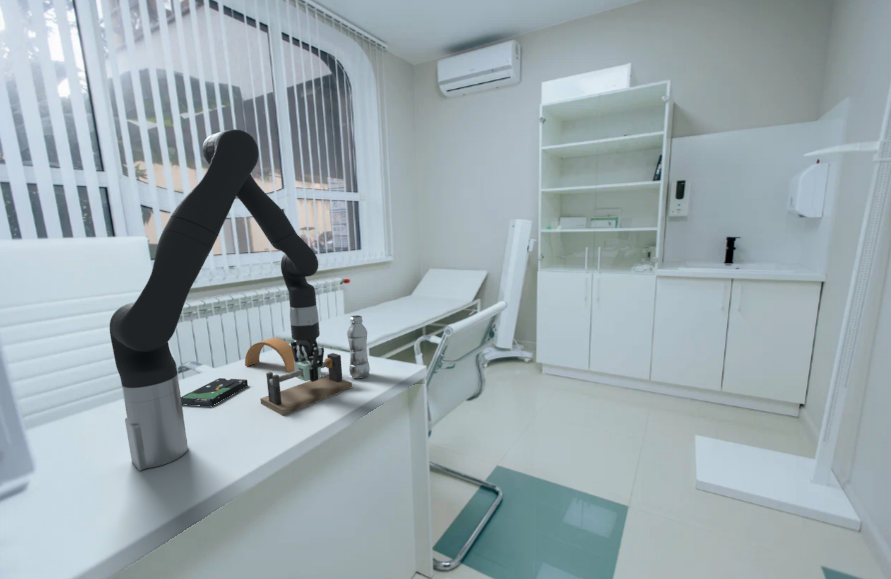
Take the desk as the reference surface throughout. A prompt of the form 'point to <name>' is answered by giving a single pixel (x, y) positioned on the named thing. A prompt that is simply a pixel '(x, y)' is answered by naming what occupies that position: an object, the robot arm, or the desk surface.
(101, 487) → the desk surface
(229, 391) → the disk drive
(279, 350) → the arch
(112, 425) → the desk surface
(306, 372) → the sleeve
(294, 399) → the rod stand
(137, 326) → the robot arm
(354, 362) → the plastic bottle
